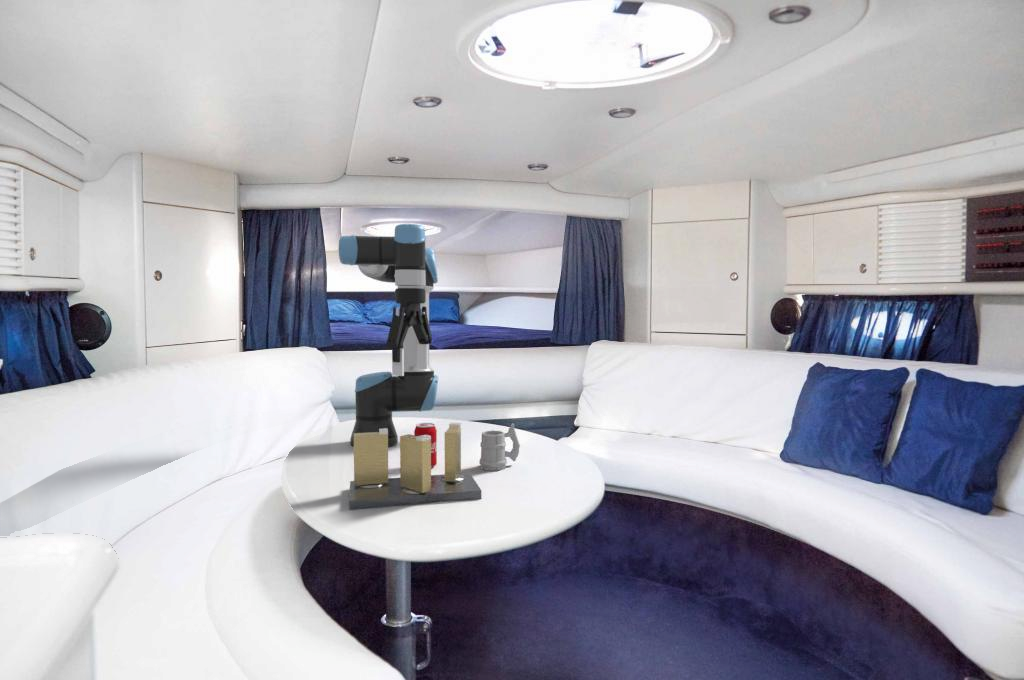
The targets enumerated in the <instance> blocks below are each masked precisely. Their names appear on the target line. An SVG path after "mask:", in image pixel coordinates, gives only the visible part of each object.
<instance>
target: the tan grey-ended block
mask: <svg viewBox="0 0 1024 680" xmlns="http://www.w3.org/2000/svg"><path fill="white" fill-rule="evenodd" d="M399 445H400V446H399V448H400V449H399V451H400V452H399V454H400V455H399V457H400V459H399V461H400V464H399V465H400V471H399V472H400V477H399V478H400V481H401V486H403V487H406V488H409V489H412V490H415V491H418V492H421V493H424V492H427V491H430V490H431V475H432V468H431V436H429V435H421V436H414V434H405V435H404V434H403V435H399Z"/></svg>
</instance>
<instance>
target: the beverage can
mask: <svg viewBox="0 0 1024 680" xmlns="http://www.w3.org/2000/svg"><path fill="white" fill-rule="evenodd" d="M435 425H436V424H434V423H432V422H420V423H417V424H416V425H415V428H414V431H413V433H414V434H413V435H414V436H421V435H429V436H431V469H433V468H434V467H436V466H437V463H438V461H437V460H438V459H437V457H438V456H437V448H438V447H437V445H438V444H437V443H438V442H437V435H438V434H437V432H438V431H437V427H436V426H435Z"/></svg>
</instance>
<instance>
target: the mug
mask: <svg viewBox="0 0 1024 680" xmlns="http://www.w3.org/2000/svg"><path fill="white" fill-rule="evenodd" d="M505 438H510V440H511V441H512V448H511V451H508V450H506V448H505V447H506V445H507V444H506V439H505ZM520 447H521V444H520V442H519V439H518V436H517V432H516V430H515V424H514V423H511V424H510V426H509V428H508V430H507V432H504V431H501V430H485V431H483V432H482V433H481V442H480V448H481V449H480V458H479V465H480V469H482V470H485V471H489V472H490V471H491V472H492V471H493V472H495V471H501V470H504V469H506V466H507V462H508V460H507V458H509V459H510V460H511V461H513V462H516V460H517V458H518V456H519V455H520Z"/></svg>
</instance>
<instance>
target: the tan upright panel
mask: <svg viewBox="0 0 1024 680" xmlns="http://www.w3.org/2000/svg"><path fill="white" fill-rule="evenodd" d="M461 430H462V423H461V422H450V423H449V424H448V429H447V430H446V431H444V474H445V481H456V479H457V478H458V476H459V474H460V473H462V447H461V445H462V444H461V443H462V438H461V437H462V432H461Z"/></svg>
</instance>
